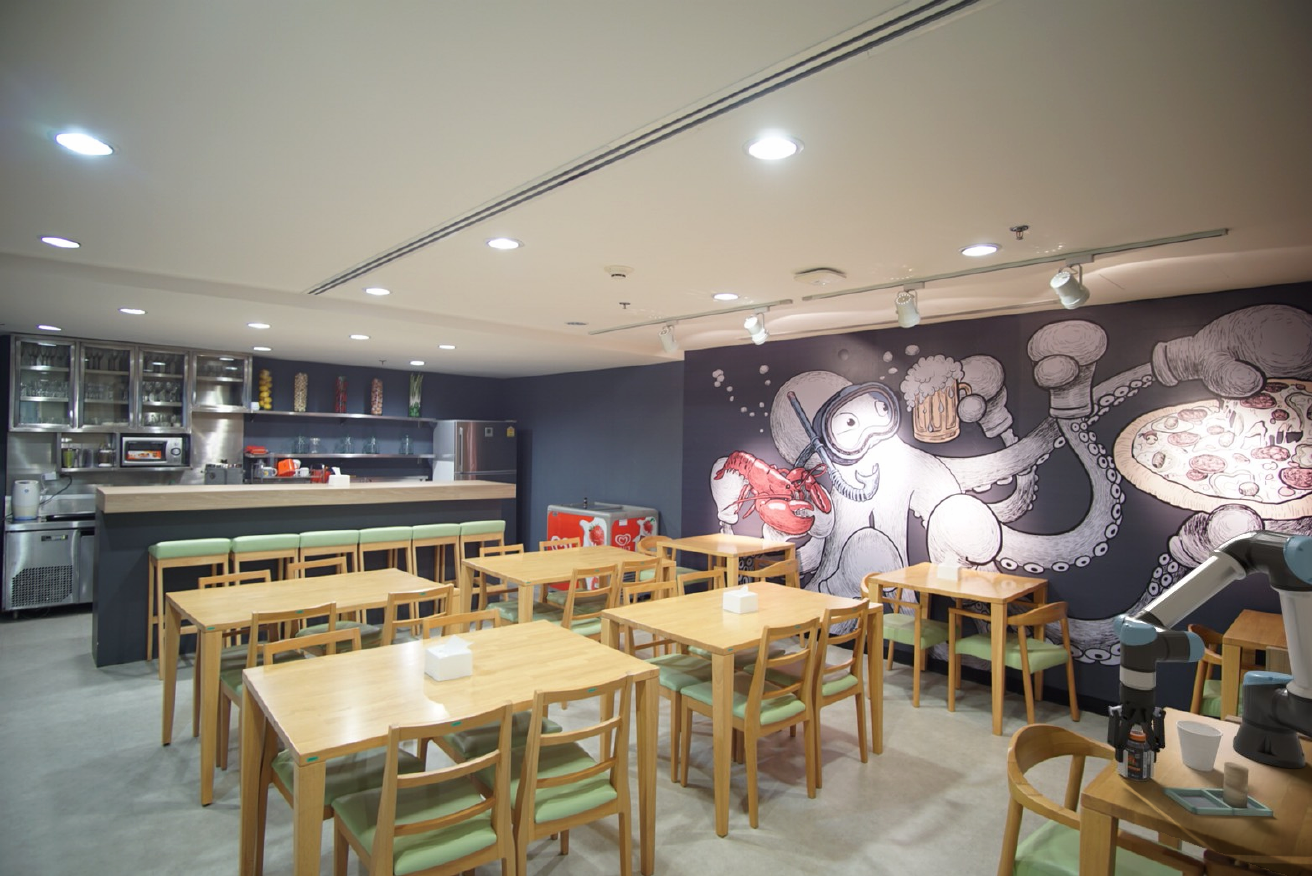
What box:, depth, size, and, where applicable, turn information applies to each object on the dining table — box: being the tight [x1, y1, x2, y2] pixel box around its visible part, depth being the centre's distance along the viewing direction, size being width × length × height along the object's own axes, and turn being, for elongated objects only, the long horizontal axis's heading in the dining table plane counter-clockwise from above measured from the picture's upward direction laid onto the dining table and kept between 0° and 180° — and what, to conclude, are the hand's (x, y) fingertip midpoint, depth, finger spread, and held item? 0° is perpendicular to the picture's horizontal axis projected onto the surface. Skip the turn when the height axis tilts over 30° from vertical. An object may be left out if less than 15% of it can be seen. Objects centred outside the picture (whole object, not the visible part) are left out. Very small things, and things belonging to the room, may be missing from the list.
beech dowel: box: [1222, 761, 1249, 808], centre depth 164 cm, size 4×4×9 cm
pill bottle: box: [1125, 729, 1150, 782], centre depth 176 cm, size 6×6×11 cm
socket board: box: [1162, 786, 1274, 817], centre depth 164 cm, size 18×10×2 cm, turn 90°
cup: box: [1175, 719, 1224, 772], centre depth 183 cm, size 10×10×11 cm
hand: (1135, 774), depth 176 cm, fingers closed on pill bottle, 6 cm apart
